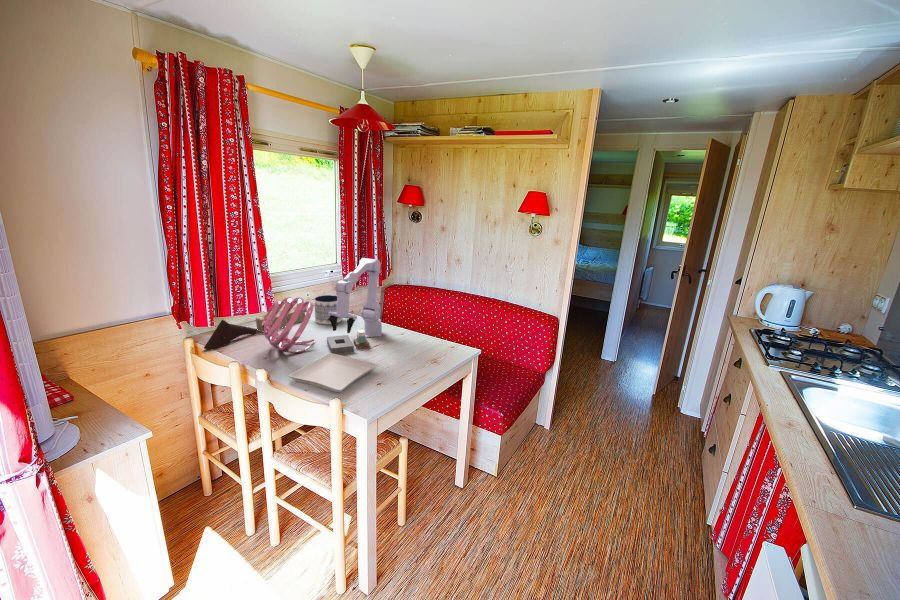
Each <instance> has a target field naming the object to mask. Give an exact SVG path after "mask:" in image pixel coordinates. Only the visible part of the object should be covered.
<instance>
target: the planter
mask: <svg viewBox="0 0 900 600" xmlns="http://www.w3.org/2000/svg"><path fill="white" fill-rule="evenodd" d="M313 301H314V303H313V304H314V322H316V323H317V324H321V325H332V324H331V322H330V320H329V317H330V316H328V312H337V295H336V294H335V295H334V294H325V295H319V296H316V297H315V298H314V300H313ZM342 320H343V318H341V317H338V319H337V324H338V323H340V322H341V321H342Z"/></svg>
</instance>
